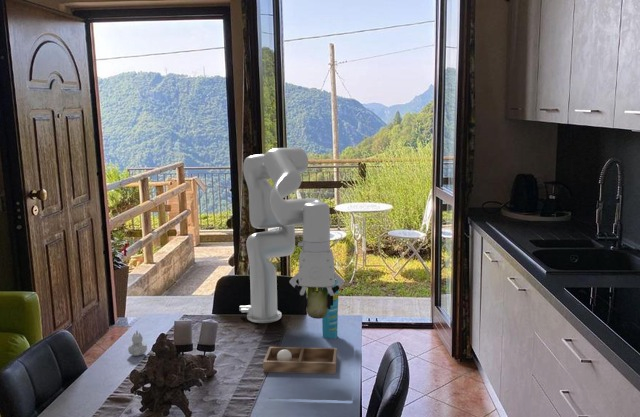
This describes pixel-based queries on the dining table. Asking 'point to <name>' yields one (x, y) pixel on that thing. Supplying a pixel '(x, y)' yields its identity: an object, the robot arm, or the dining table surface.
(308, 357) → the wooden compartment tray
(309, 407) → the dining table surface
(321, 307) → the fennel bulb
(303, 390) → the dining table surface
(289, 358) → the cream egg
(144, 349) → the grey figurine
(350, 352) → the dining table surface
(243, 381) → the dining table surface
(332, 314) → the tube
